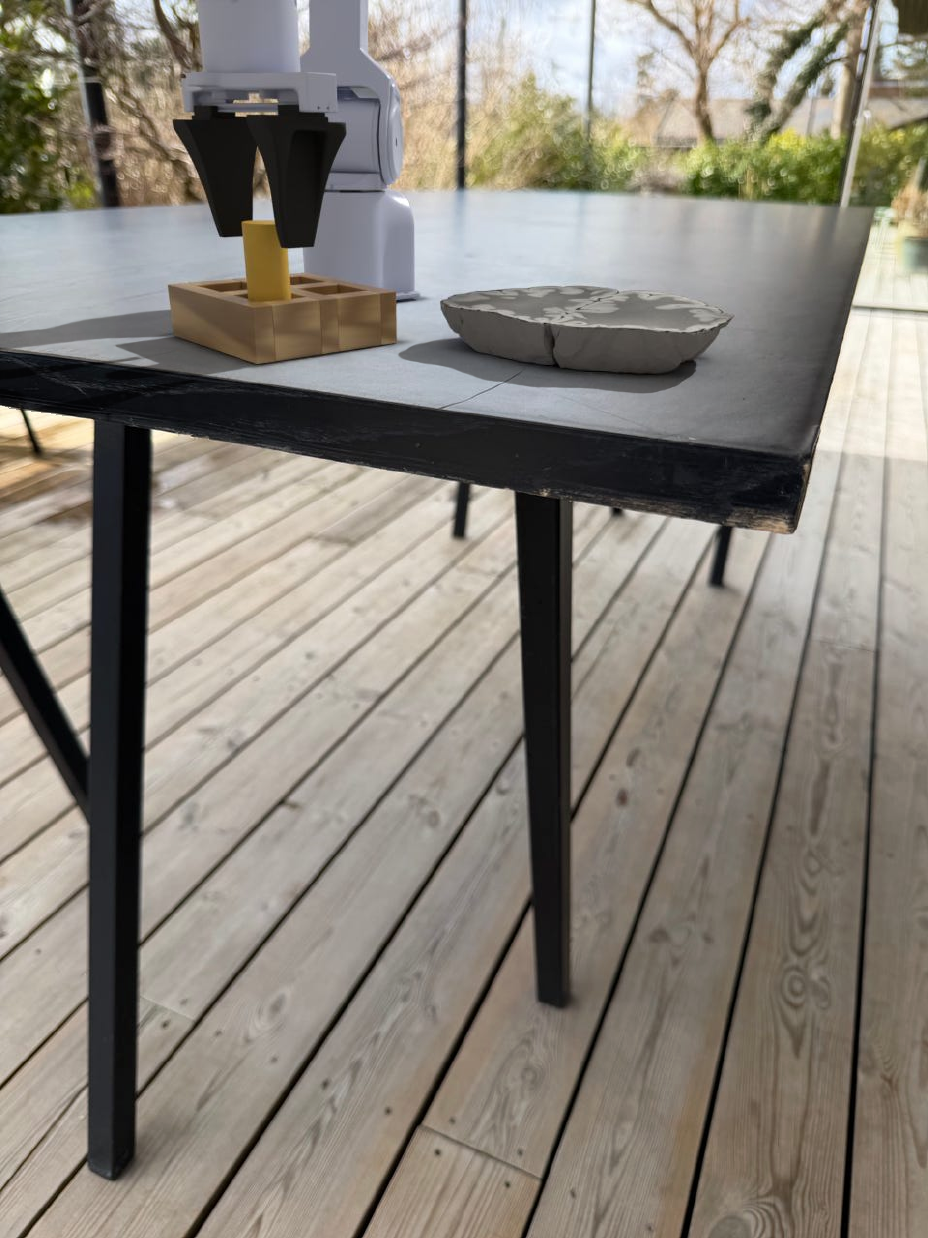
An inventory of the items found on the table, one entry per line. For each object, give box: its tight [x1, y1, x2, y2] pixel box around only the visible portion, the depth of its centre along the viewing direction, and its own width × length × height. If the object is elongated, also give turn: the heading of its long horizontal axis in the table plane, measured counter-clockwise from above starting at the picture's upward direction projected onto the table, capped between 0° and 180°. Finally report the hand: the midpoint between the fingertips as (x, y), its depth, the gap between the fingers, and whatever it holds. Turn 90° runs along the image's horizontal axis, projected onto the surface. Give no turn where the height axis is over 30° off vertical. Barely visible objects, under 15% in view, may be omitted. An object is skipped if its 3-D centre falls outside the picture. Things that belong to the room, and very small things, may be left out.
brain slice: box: [439, 285, 735, 375], centre depth 64 cm, size 20×17×3 cm
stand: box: [167, 272, 398, 365], centre depth 64 cm, size 11×11×4 cm
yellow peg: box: [242, 219, 291, 302], centre depth 60 cm, size 3×3×8 cm
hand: (265, 241), depth 59 cm, fingers open, 7 cm apart
